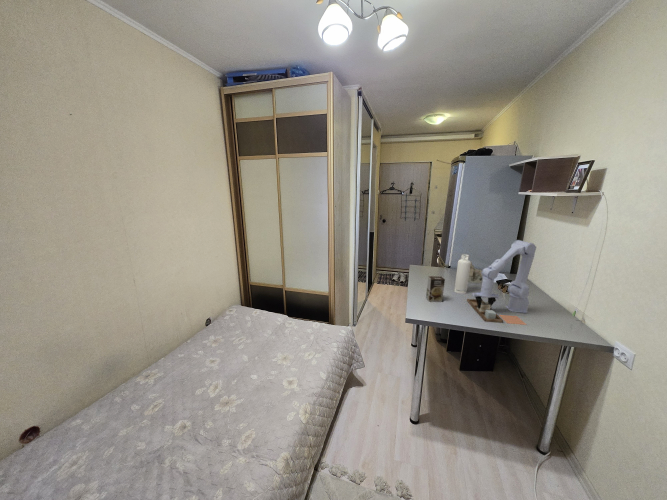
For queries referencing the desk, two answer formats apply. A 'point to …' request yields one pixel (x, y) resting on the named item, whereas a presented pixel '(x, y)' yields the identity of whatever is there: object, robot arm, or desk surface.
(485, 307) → the letter cube
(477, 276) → the ceramic cottage
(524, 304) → the robot arm
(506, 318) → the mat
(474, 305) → the organizer
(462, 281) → the bottle
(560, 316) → the desk surface
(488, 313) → the blank block
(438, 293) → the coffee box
